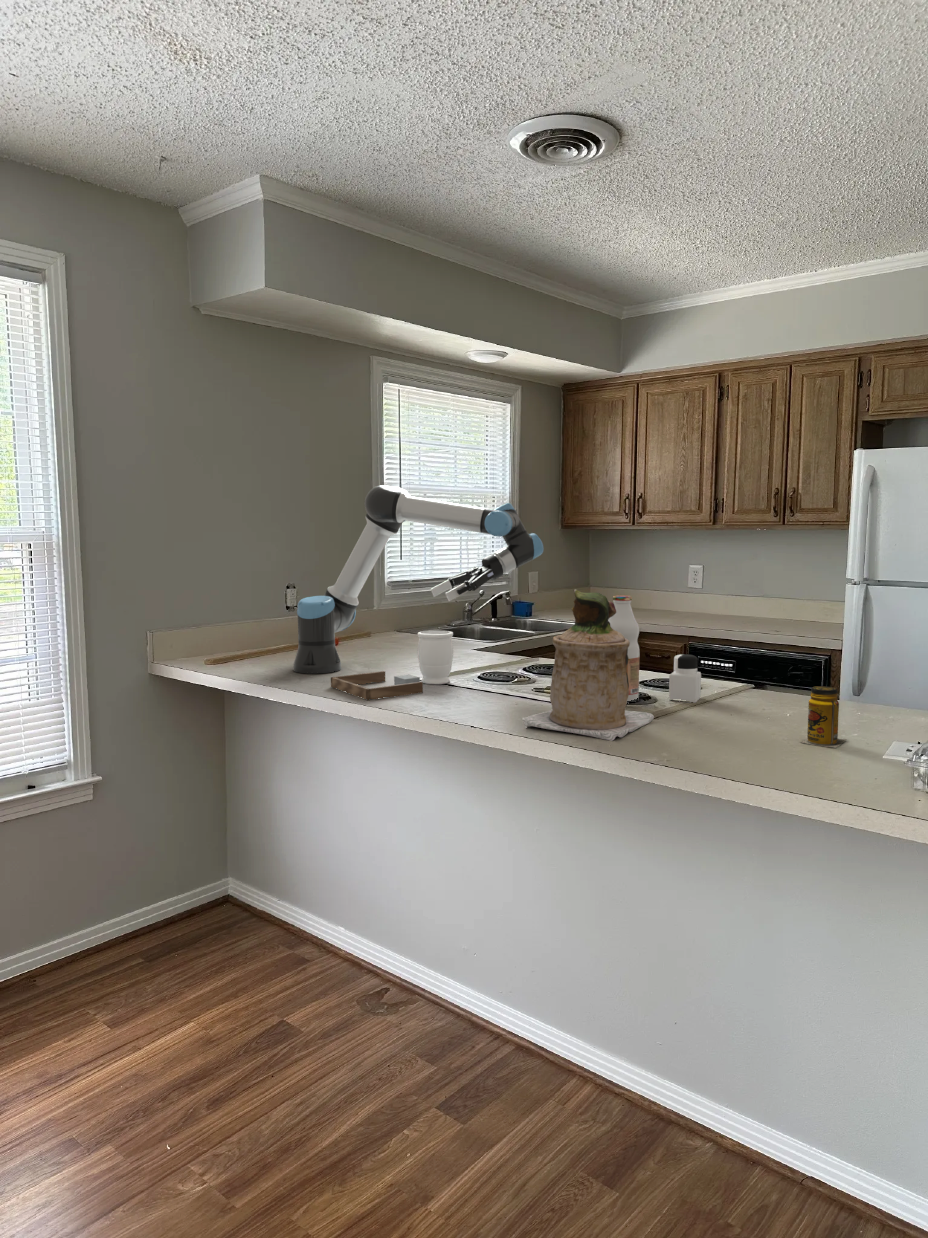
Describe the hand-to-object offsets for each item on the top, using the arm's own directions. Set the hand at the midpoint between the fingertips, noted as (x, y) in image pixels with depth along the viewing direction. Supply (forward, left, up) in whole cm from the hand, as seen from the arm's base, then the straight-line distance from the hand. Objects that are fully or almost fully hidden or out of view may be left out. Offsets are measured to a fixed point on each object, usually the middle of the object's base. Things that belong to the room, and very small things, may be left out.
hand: (439, 595), depth 260 cm
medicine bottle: (+66, +35, -26) cm, 79 cm away
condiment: (+113, +25, -26) cm, 119 cm away
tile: (+6, -16, -26) cm, 31 cm away
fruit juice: (+57, +20, -26) cm, 66 cm away
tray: (+6, -26, -25) cm, 37 cm away
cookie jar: (+71, -5, -26) cm, 76 cm away
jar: (+6, -6, -26) cm, 27 cm away
